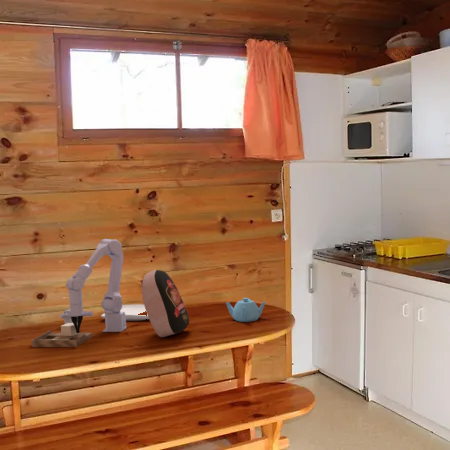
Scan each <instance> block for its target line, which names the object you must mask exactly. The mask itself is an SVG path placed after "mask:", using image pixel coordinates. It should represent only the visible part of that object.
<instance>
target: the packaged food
mask: <svg viewBox="0 0 450 450" xmlns="http://www.w3.org/2000/svg"><path fill="white" fill-rule="evenodd" d="M141 288H142V289H141V290H142V291H141V292H142V293H141V294H142V302H143V305H144V306H145V309H146V312H147V315H148V317H149V319H148V320H149V321H150V324H151V326H152V328H153V329H154V331H155V334H157V336H158V337H160V338H165V337H168V336H172V335H176V334H179V333H181V332H182V331H184V330H186V328H187V327H188V326H189V324H190V318H189V315H188V311H187V308H186V305H185V302H184V301H183V298H182V296H181V294H180V292H179V290H178V287H177V286H176V284H175V282H174V280H173V279H172V278H171V277H170V275H169V274H168V273H167V272H165V271H164V270H162V269H154V270H151V271H148V273H146V274H145V275H144V277H143V279H142V283H141Z"/></svg>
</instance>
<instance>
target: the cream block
mask: <svg viewBox="0 0 450 450" xmlns="http://www.w3.org/2000/svg"><path fill="white" fill-rule="evenodd" d="M77 326H78V323H77ZM60 333H61V335H64V336H72V335H75V334H77V333H76V329H75V326H74V324H73V323H67V324H65V323H64V324H62V325H60Z"/></svg>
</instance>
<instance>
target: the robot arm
mask: <svg viewBox="0 0 450 450" xmlns="http://www.w3.org/2000/svg"><path fill="white" fill-rule="evenodd" d="M107 255H108V257H110V259H111V263H110V270H109V278H108V285H107V291H106V292H105V294H104V296H103V299H102V301H101V308H102V309H103V310H104V313H105V319H104V323H105V328H104V329H103V330H102V332H104V333H107V332H108V333H109V332H111V333H114V332H115V333H117V332H118V333H120V332H121V333H122V332H123V331H125V330H126V329H127V320H126V315H125V313H124V312H120V310H121V309H122V305H123V302H122V300H123V299H122V298H123V297H122V295H121V294H120V288H121V287H120V286H121V282H122V281H121V279H122V272H123V265H124V252H123V244H122V243H121V242H120V241H119V239H108V238H103V239H101V241H100V242H99V243H98V244H97V246H96V248H95V250H94V252H93V253H92V254H91V255H90V257H89V259H88V260H87V262H86V263H85V264H81V265H79V266H78V269H77V270H76V272H75V273H73V274H72V277H69V278H68V280H67V281H66V284H65V288H66V289H67V290H68V297H69V309H70V313H65V314H64V313H60V316H59V317H60V320H62V319H63V320H64V318H71V320H72V322H73V324H74V326H75V329H76V333H80V328H81V324H82V321H83V318H84V317H94V311H93V310H90V311H84V308H83V307H84V306H83V304H84V303H83V291H82V289H83V288H84V287H85V282H86V281H87V279H88V278H89V276H90V275H92V273H93V267H94V266H96V264H97V263H98V262H99V260H101V258H102V257H104V256H107ZM77 323H78V326H77Z"/></svg>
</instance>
